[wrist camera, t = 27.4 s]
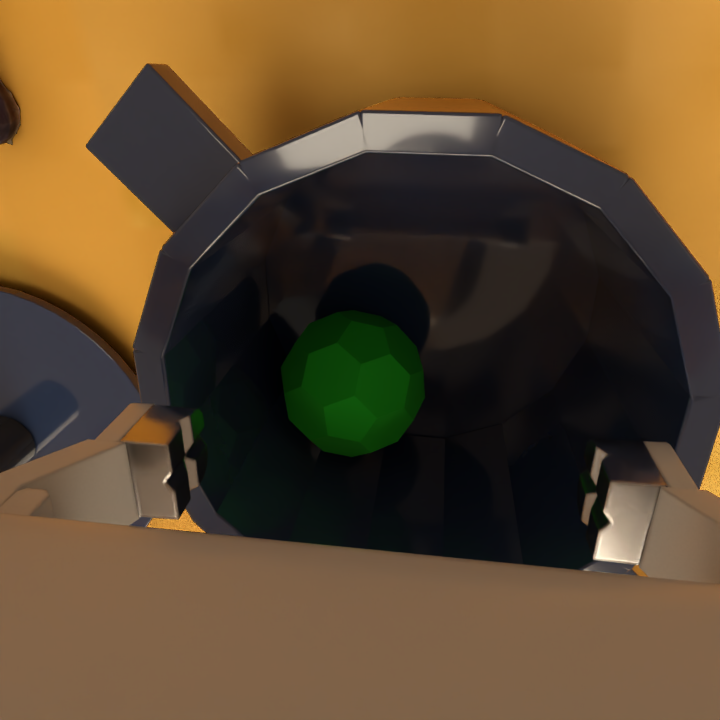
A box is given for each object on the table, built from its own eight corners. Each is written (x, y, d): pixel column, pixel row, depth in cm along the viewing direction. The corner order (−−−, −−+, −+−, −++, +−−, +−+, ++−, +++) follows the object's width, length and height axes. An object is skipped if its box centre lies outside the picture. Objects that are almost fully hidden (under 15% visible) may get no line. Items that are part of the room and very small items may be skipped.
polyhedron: (475, 394, 20) (375, 503, 19) (416, 370, 24) (335, 457, 24) (375, 283, 18) (262, 400, 17) (332, 281, 23) (243, 372, 22)
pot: (451, 535, 27) (451, 741, 19) (130, 228, 23) (-55, 314, 15) (734, 361, 22) (910, 536, 14) (386, -76, 18) (329, -215, 9)
